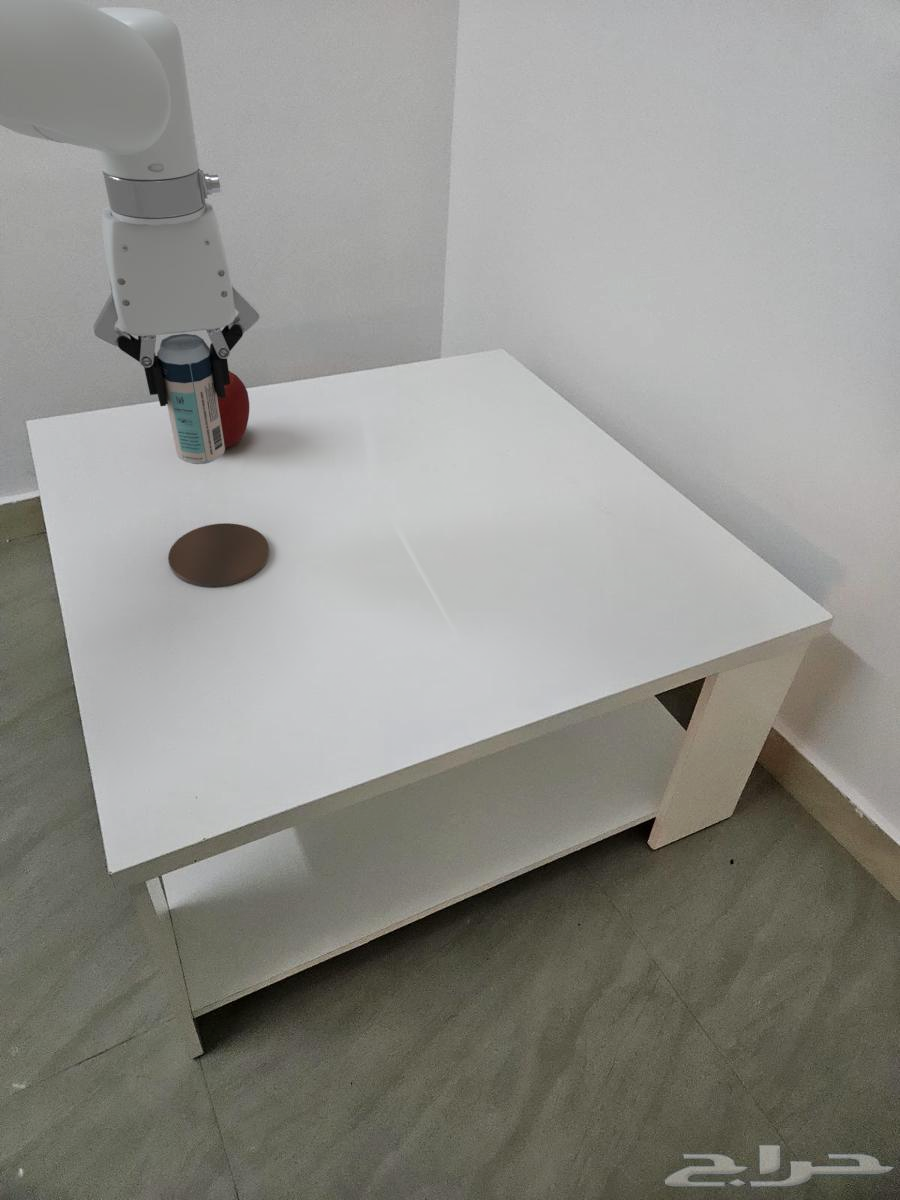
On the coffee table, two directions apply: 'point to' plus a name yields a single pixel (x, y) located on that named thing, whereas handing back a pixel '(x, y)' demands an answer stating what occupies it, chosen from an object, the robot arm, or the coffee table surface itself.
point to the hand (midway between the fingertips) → (191, 394)
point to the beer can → (191, 398)
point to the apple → (234, 411)
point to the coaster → (218, 555)
